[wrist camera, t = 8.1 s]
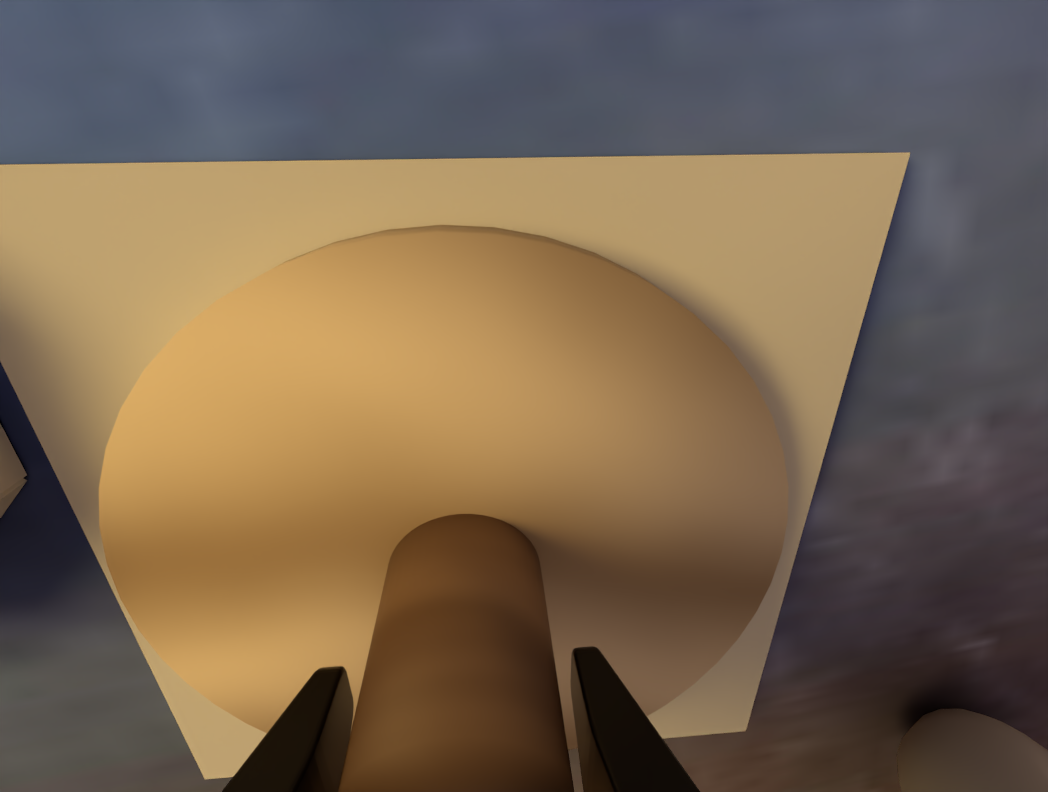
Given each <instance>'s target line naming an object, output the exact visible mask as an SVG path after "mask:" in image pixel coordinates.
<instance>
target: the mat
mask: <svg viewBox="0 0 1048 792" xmlns="http://www.w3.org/2000/svg"><path fill="white" fill-rule="evenodd" d="M909 156H910V153H841V154H766V155H691V156H616V157H541V158H466V159H391V160H317V161H242V162H167V163H92V164H17V165H0V362H1V364H2V366H3V368H4V370H5V372H6V374H7V376H8V378H9V380H10V382H11V384H12V386H13V388H14V390H15V392H16V394H17V396H18V398H19V400H20V402H21V405H22V407H23V409H24V411H25V413H26V415H27V417H28V419H29V421H30V423H31V425H32V427H33V429H34V431H35V433H36V435H37V437H38V439H39V441H40V443H41V445H42V447H43V449H44V452H45V454H46V456H47V458H48V460H49V462H50V464H51V466H52V468H53V470H54V472H55V474H56V476H57V478H58V480H59V482H60V484H61V486H62V488H63V490H64V492H65V494H66V496H67V499H68V501H69V503H70V505H71V507H72V509H73V511H74V513H75V515H76V517H77V519H78V521H79V523H80V525H81V527H82V529H83V531H84V533H85V535H86V537H87V539H88V541H89V543H90V546H91V548H92V550H93V552H94V554H95V556H96V558H97V560H98V562H99V564H100V566H101V568H102V570H103V572H104V574H105V576H106V578H107V580H108V582H109V584H110V586H111V588H112V590H113V593H114V595H115V597H116V599H117V601H118V603H119V605H120V607H121V609H122V611H123V613H124V615H125V617H126V619H127V621H128V623H129V625H130V627H131V629H132V631H133V633H134V635H135V637H136V640H137V642H138V644H139V646H140V648H141V650H142V652H143V654H144V656H145V658H146V660H147V662H148V664H149V666H150V668H151V670H152V672H153V674H154V676H155V678H156V680H157V682H158V684H159V687H160V689H161V691H162V693H163V695H164V697H165V699H166V701H167V703H168V705H169V707H170V709H171V711H172V713H173V715H174V717H175V719H176V721H177V723H178V725H179V727H180V729H181V731H182V734H183V736H184V738H185V740H186V742H187V744H188V746H189V748H190V750H191V752H192V754H193V756H194V758H195V760H196V762H197V764H198V766H199V768H200V770H201V772H202V774H203V776H204V778H205V779H214V778H225V777H233V776H234V775H235V774H236V773H237V771H238V770H239V769H240V767H241V766H242V765H243V763H244V762H245V761H246V760H247V758H248V757H249V756H250V754H251V753H252V752H253V751H254V749H255V748H256V747H257V745H258V744H259V743H260V742H261V740H262V739H263V738H264V736H265V735H266V734H267V733H265V732H263V731H261V730H259V729H257V728H255V727H253V726H250V725H248V724H246V723H244V722H243V721H241V720H239V719H238V718H236V717H235V716H233V715H231V714H230V713H228V712H226V711H225V710H223V709H221V708H220V707H218V706H216V705H215V704H213V703H212V702H211V701H209V700H208V699H207V698H206V697H204V696H203V695H202V694H200V693H199V692H198V691H196V690H195V689H194V688H192V687H191V686H190V685H189V684H187V683H186V682H185V681H184V680H183V679H182V678H181V677H180V676H179V675H178V674H177V673H176V672H175V671H174V670H173V669H172V668H171V667H170V666H169V665H167V664H166V663H165V662H164V661H163V660H162V659H161V658H160V656H159V655H158V654H157V653H156V651H155V650H154V649H153V648H152V646H151V645H150V644H149V642H148V641H147V640H146V639H145V637H144V636H143V635H142V634H141V632H140V631H139V630H138V628H137V626H136V625H135V623H134V621H133V620H132V618H131V616H130V614H129V613H128V611H127V609H126V608H125V606H124V604H123V602H122V601H121V599H120V597H119V594H118V592H117V589H116V586H115V584H114V581H113V579H112V576H111V573H110V571H109V568H108V566H107V562H106V557H105V552H104V547H103V543H102V538H101V533H100V528H99V484H100V478H101V472H102V466H103V460H104V455H105V449H106V446H107V443H108V441H109V438H110V435H111V433H112V430H113V427H114V425H115V422H116V419H117V417H118V414H119V411H120V409H121V407H122V405H123V404H124V402H125V400H126V399H127V397H128V395H129V394H130V392H131V390H132V389H133V387H134V385H135V384H136V382H137V381H138V379H139V377H140V376H141V374H142V372H143V371H144V369H145V368H146V367H147V366H148V365H149V363H150V362H151V361H152V360H153V359H154V358H155V357H156V356H157V354H158V353H159V352H160V351H161V350H162V349H163V348H164V346H165V345H166V344H167V343H168V342H169V341H170V340H171V338H172V337H173V336H174V335H175V334H176V333H177V332H178V331H179V330H181V329H182V328H183V327H184V326H186V325H187V324H188V323H189V322H190V321H192V320H193V319H194V318H195V317H197V316H198V315H199V314H200V313H202V312H203V311H204V310H205V309H207V308H208V307H209V306H210V305H211V304H213V303H214V302H215V301H216V300H218V299H220V298H221V297H223V296H225V295H227V294H228V293H230V292H232V291H234V290H235V289H237V288H239V287H241V286H242V285H244V284H246V283H247V282H249V281H251V280H253V279H254V278H256V277H258V276H260V275H261V274H263V273H265V272H267V271H269V270H270V269H272V268H274V267H276V266H278V265H280V264H282V263H283V262H285V261H287V260H290V259H292V258H295V257H298V256H300V255H303V254H305V253H308V252H310V251H313V250H316V249H318V248H321V247H323V246H326V245H328V244H331V243H333V242H336V241H341V240H345V239H349V238H354V237H358V236H362V235H366V234H371V233H375V232H379V231H384V230H389V229H400V228H411V227H422V226H433V225H458V226H480V227H496V228H502V229H507V230H513V231H518V232H524V233H529V234H534V235H540V236H545V237H549V238H552V239H555V240H558V241H561V242H564V243H567V244H570V245H573V246H576V247H579V248H582V249H585V250H588V251H591V252H594V253H596V254H598V255H600V256H602V257H604V258H606V259H608V260H610V261H612V262H614V263H616V264H618V265H620V266H622V267H624V268H626V269H628V270H630V271H632V272H634V273H636V274H638V275H640V276H641V277H642V278H644V279H645V280H647V281H648V282H650V283H651V284H653V285H654V286H655V287H657V288H658V289H660V290H661V291H663V292H664V293H665V294H667V295H668V296H670V297H671V298H673V299H674V300H676V301H677V302H678V303H680V304H681V305H682V306H684V307H685V308H686V309H688V310H689V311H691V312H692V313H693V314H695V315H696V316H697V317H698V318H699V319H700V320H701V321H702V322H703V323H704V324H705V325H706V326H707V327H708V328H709V329H710V330H711V331H712V332H713V333H715V334H716V335H717V336H718V337H719V338H720V339H721V340H722V341H723V342H724V343H725V344H726V345H727V346H728V347H729V348H730V350H731V351H732V352H733V354H734V355H735V356H736V358H737V359H738V360H739V362H740V363H741V364H742V366H743V367H744V368H745V370H746V371H747V372H748V374H749V375H750V376H751V377H752V379H753V380H754V382H755V384H756V386H757V388H758V390H759V392H760V394H761V395H762V397H763V399H764V401H765V403H766V405H767V407H768V409H769V411H770V413H771V415H772V417H773V420H774V423H775V427H776V430H777V433H778V436H779V439H780V442H781V445H782V448H783V452H784V459H785V466H786V473H787V480H788V521H787V526H786V532H785V537H784V543H783V548H782V553H781V556H780V559H779V562H778V565H777V568H776V570H775V573H774V576H773V579H772V582H771V585H770V587H769V588H768V590H767V592H766V594H765V596H764V598H763V600H762V602H761V604H760V606H759V608H758V610H757V612H756V614H755V615H754V616H753V618H752V619H751V621H750V622H749V624H748V625H747V627H746V628H745V630H744V631H743V632H742V634H741V635H740V637H739V638H738V640H737V641H736V642H735V643H734V644H733V645H732V646H731V648H730V649H729V650H728V651H727V652H726V653H725V654H724V656H723V657H722V658H721V659H720V660H719V661H718V662H717V663H716V664H715V665H714V666H713V667H712V668H711V669H710V670H709V671H708V672H707V673H705V674H704V675H703V676H702V677H701V678H700V679H699V680H698V681H697V682H696V683H695V684H693V685H692V686H691V687H690V688H688V689H687V690H685V691H684V692H683V693H681V694H680V695H679V696H677V697H676V698H675V699H673V700H672V701H671V702H669V703H668V704H667V705H665V706H663V707H662V708H660V709H658V710H657V711H655V712H653V713H652V714H650V715H648V716H647V717H648V719H649V720H650V722H651V723H652V725H653V726H654V727H655V729H656V730H657V732H658V733H659V734H660V736H661V737H662V738H673V737H685V736H696V735H707V734H718V733H729V732H741V731H746V728H747V725H748V721H749V718H750V714H751V711H752V707H753V704H754V700H755V697H756V693H757V690H758V686H759V683H760V679H761V676H762V672H763V669H764V665H765V662H766V658H767V654H768V651H769V647H770V644H771V640H772V637H773V633H774V630H775V626H776V623H777V619H778V616H779V612H780V609H781V605H782V602H783V598H784V595H785V591H786V588H787V584H788V581H789V577H790V574H791V570H792V567H793V563H794V560H795V556H796V553H797V549H798V546H799V542H800V539H801V535H802V532H803V528H804V525H805V521H806V518H807V514H808V511H809V507H810V504H811V500H812V497H813V493H814V490H815V486H816V483H817V479H818V475H819V472H820V468H821V465H822V461H823V458H824V454H825V451H826V447H827V444H828V440H829V437H830V433H831V430H832V426H833V423H834V419H835V416H836V412H837V409H838V405H839V402H840V398H841V395H842V391H843V388H844V384H845V381H846V377H847V374H848V370H849V367H850V363H851V360H852V356H853V353H854V349H855V346H856V342H857V339H858V335H859V332H860V328H861V325H862V321H863V318H864V314H865V311H866V307H867V304H868V300H869V297H870V293H871V289H872V286H873V282H874V279H875V275H876V272H877V268H878V265H879V261H880V258H881V254H882V251H883V247H884V244H885V240H886V237H887V233H888V230H889V226H890V223H891V219H892V216H893V212H894V209H895V205H896V202H897V198H898V195H899V191H900V188H901V184H902V181H903V177H904V174H905V170H906V167H907V163H908V160H909Z"/></svg>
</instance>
